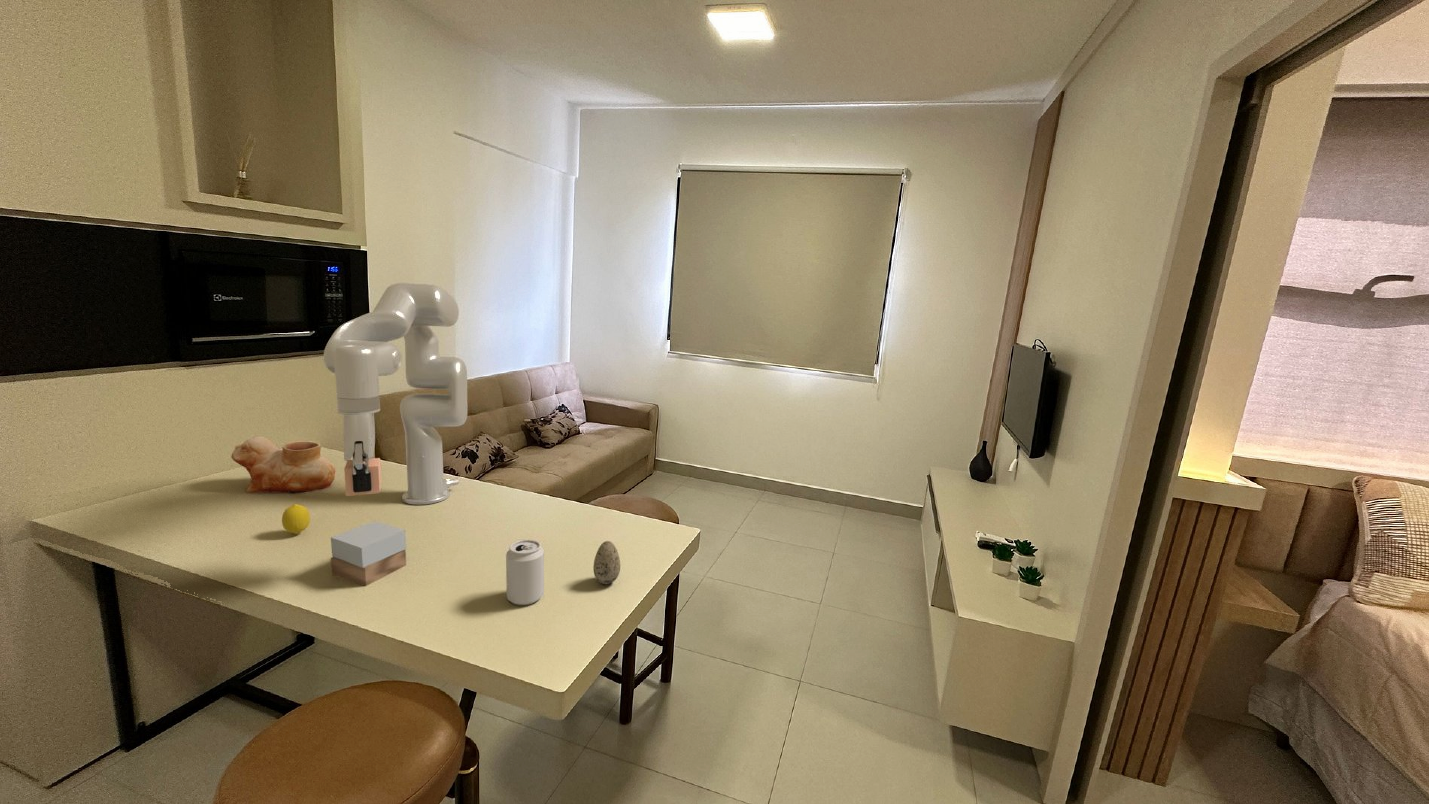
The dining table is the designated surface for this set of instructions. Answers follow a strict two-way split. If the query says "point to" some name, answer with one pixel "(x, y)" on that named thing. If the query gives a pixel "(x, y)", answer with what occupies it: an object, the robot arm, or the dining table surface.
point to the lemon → (295, 519)
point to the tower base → (368, 569)
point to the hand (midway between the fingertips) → (364, 485)
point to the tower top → (368, 543)
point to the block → (375, 477)
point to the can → (525, 572)
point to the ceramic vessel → (284, 466)
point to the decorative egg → (606, 563)
